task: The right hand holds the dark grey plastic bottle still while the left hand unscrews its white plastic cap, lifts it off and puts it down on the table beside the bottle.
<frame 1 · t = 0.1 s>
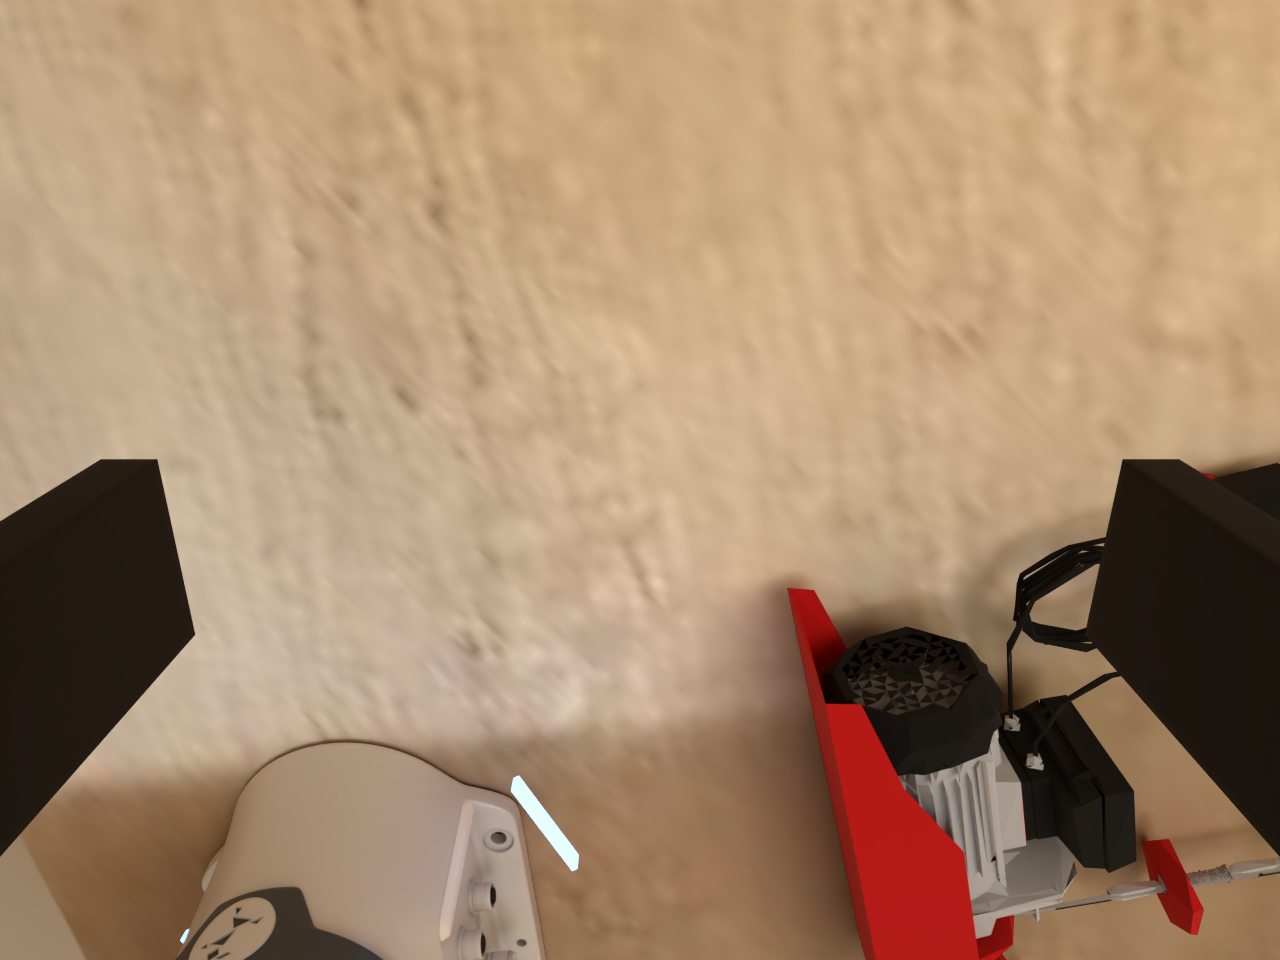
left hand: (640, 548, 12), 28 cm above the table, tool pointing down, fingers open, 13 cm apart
electric hoist: (1102, 717, 47), on the table
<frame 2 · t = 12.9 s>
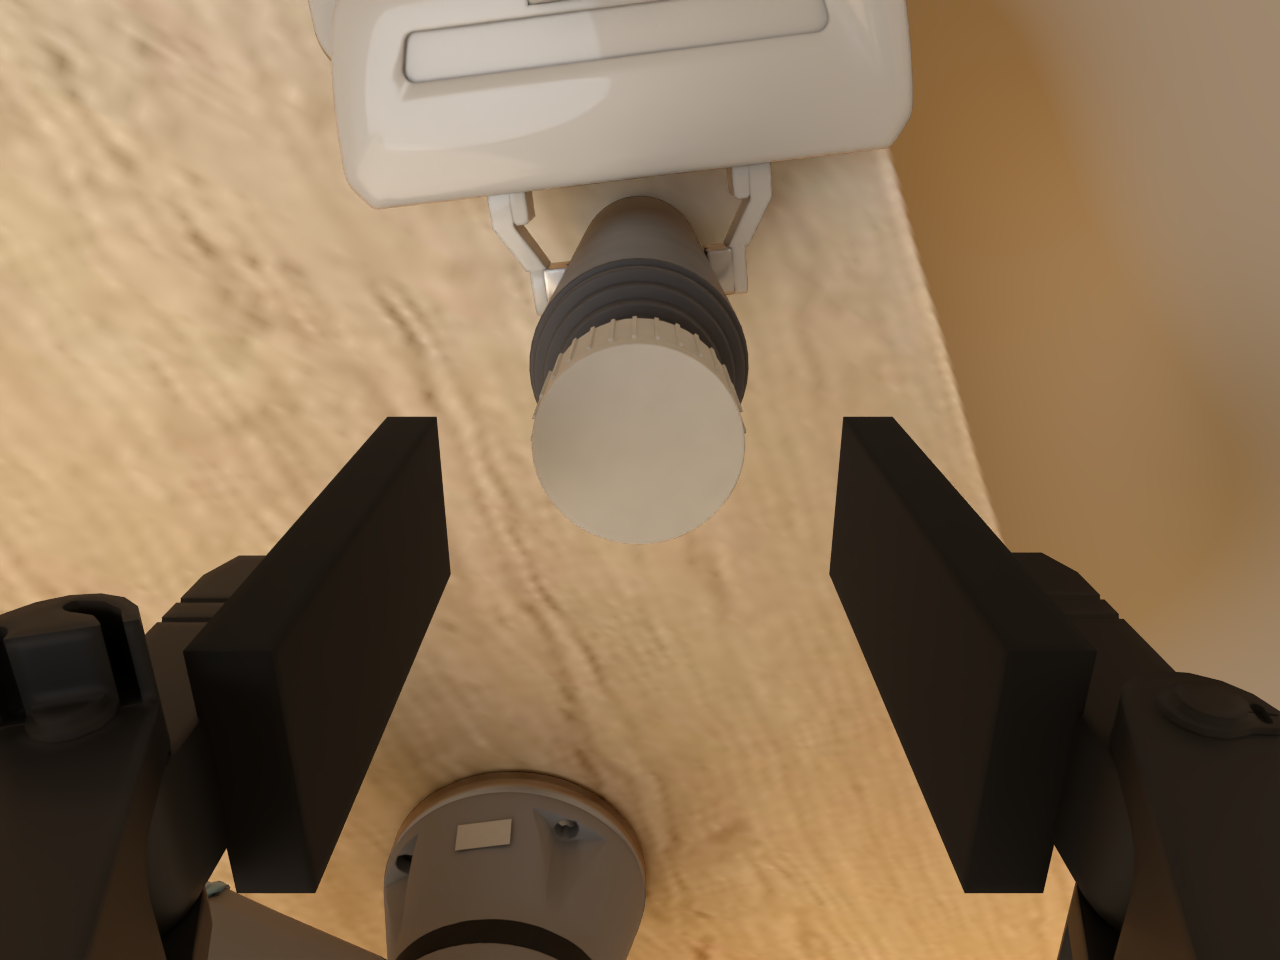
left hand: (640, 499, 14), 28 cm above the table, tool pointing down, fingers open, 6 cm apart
right hand: (643, 302, 35), fingers closed on bottle, 5 cm apart
bottle: (639, 257, 40), on the table, touching right hand
cap: (638, 443, 16), point 25 cm above the table, screwed on, not yet turned
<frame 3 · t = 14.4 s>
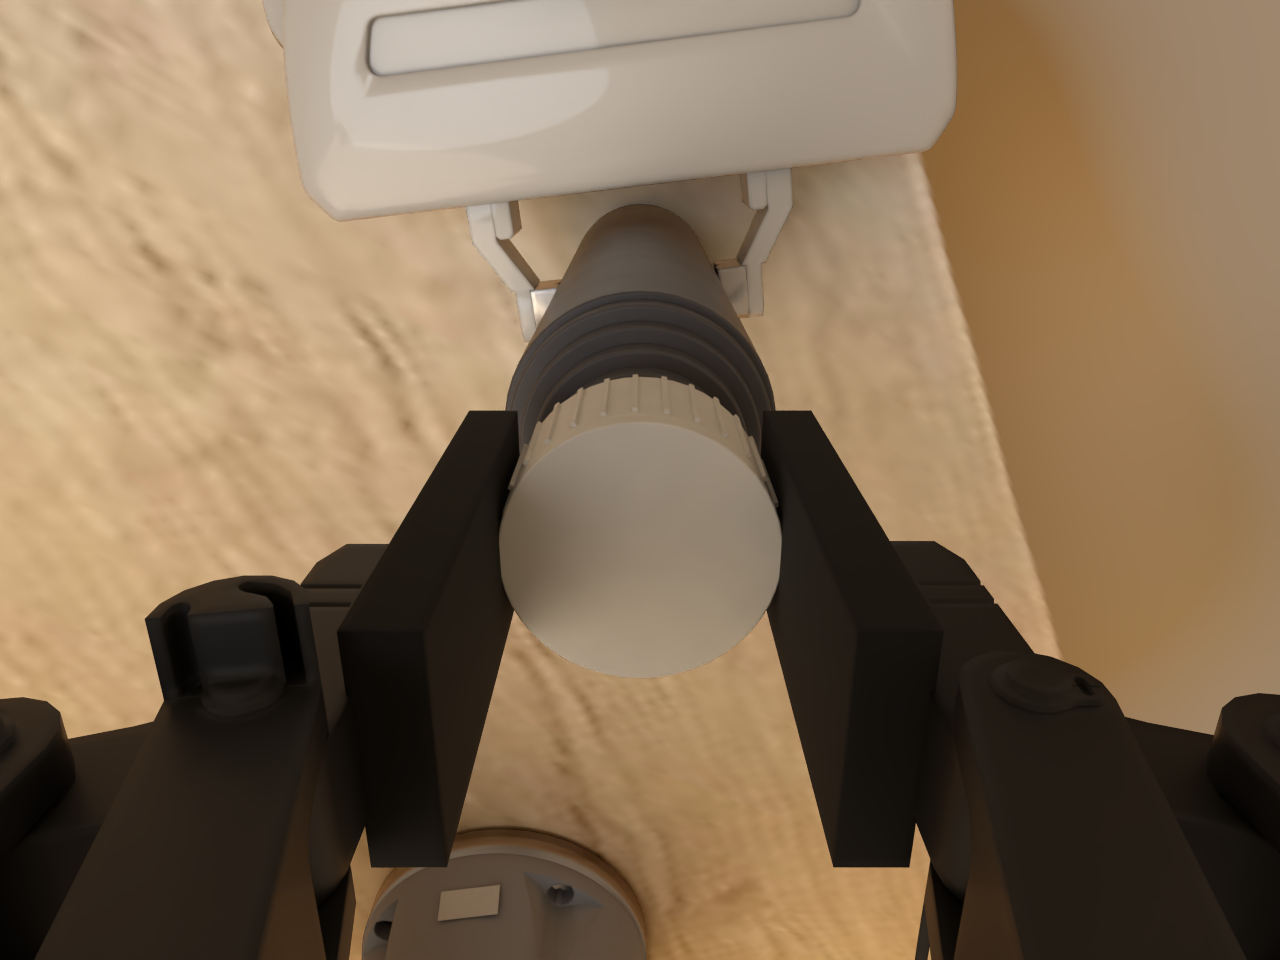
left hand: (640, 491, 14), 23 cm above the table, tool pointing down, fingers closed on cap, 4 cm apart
right hand: (644, 326, 30), fingers closed on bottle, 5 cm apart
bottle: (640, 272, 36), on the table, touching right hand
cap: (640, 548, 12), point 25 cm above the table, screwed on, not yet turned, touching left hand
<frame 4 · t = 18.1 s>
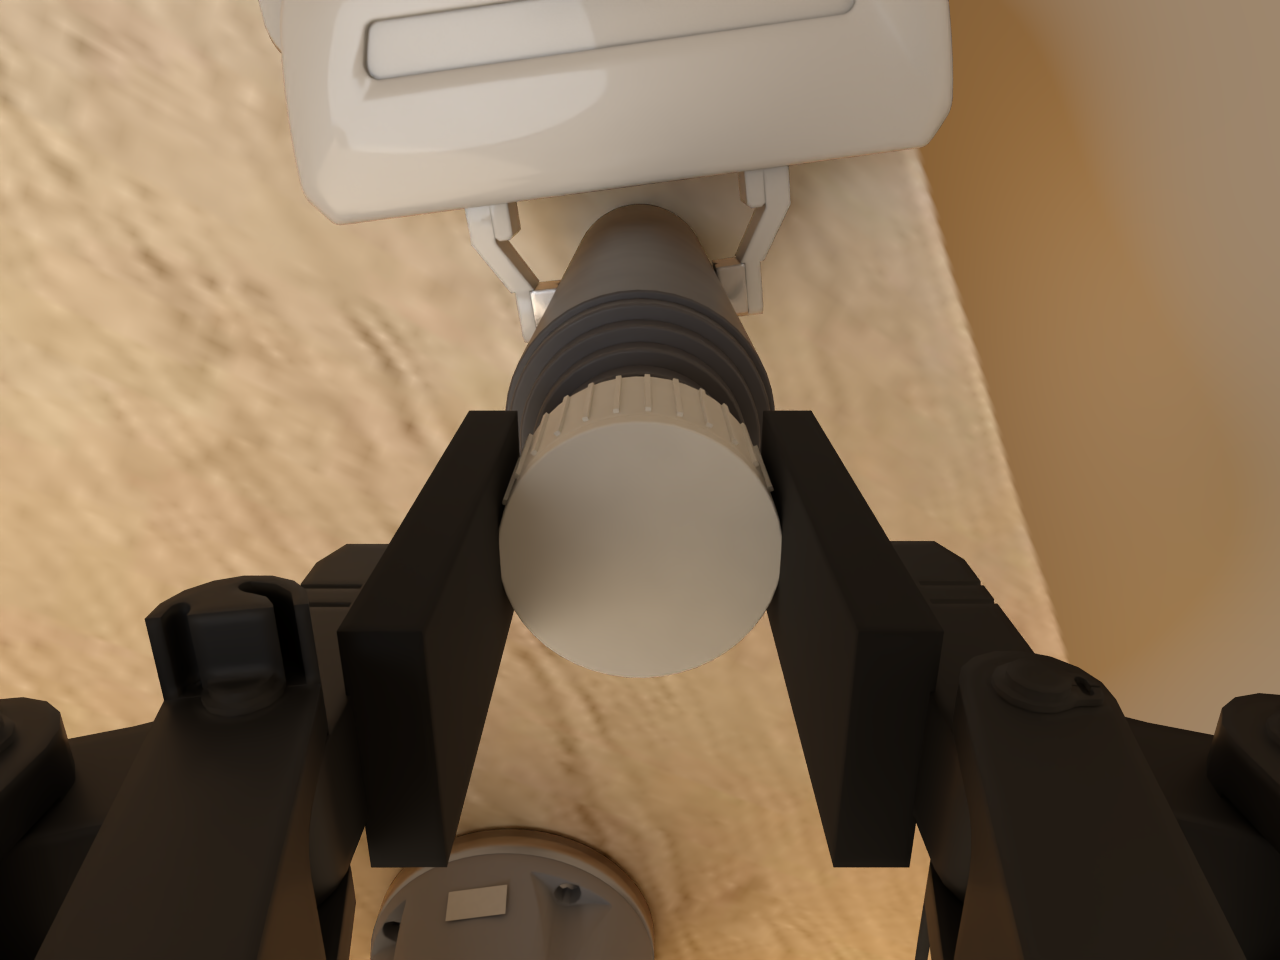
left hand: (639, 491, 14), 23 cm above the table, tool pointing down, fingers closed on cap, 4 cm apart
right hand: (644, 325, 30), fingers closed on bottle, 5 cm apart
bottle: (640, 272, 36), on the table, touching right hand
cap: (640, 548, 12), point 25 cm above the table, turned 106° so far, risen 0.1 cm, still on its thread, touching left hand
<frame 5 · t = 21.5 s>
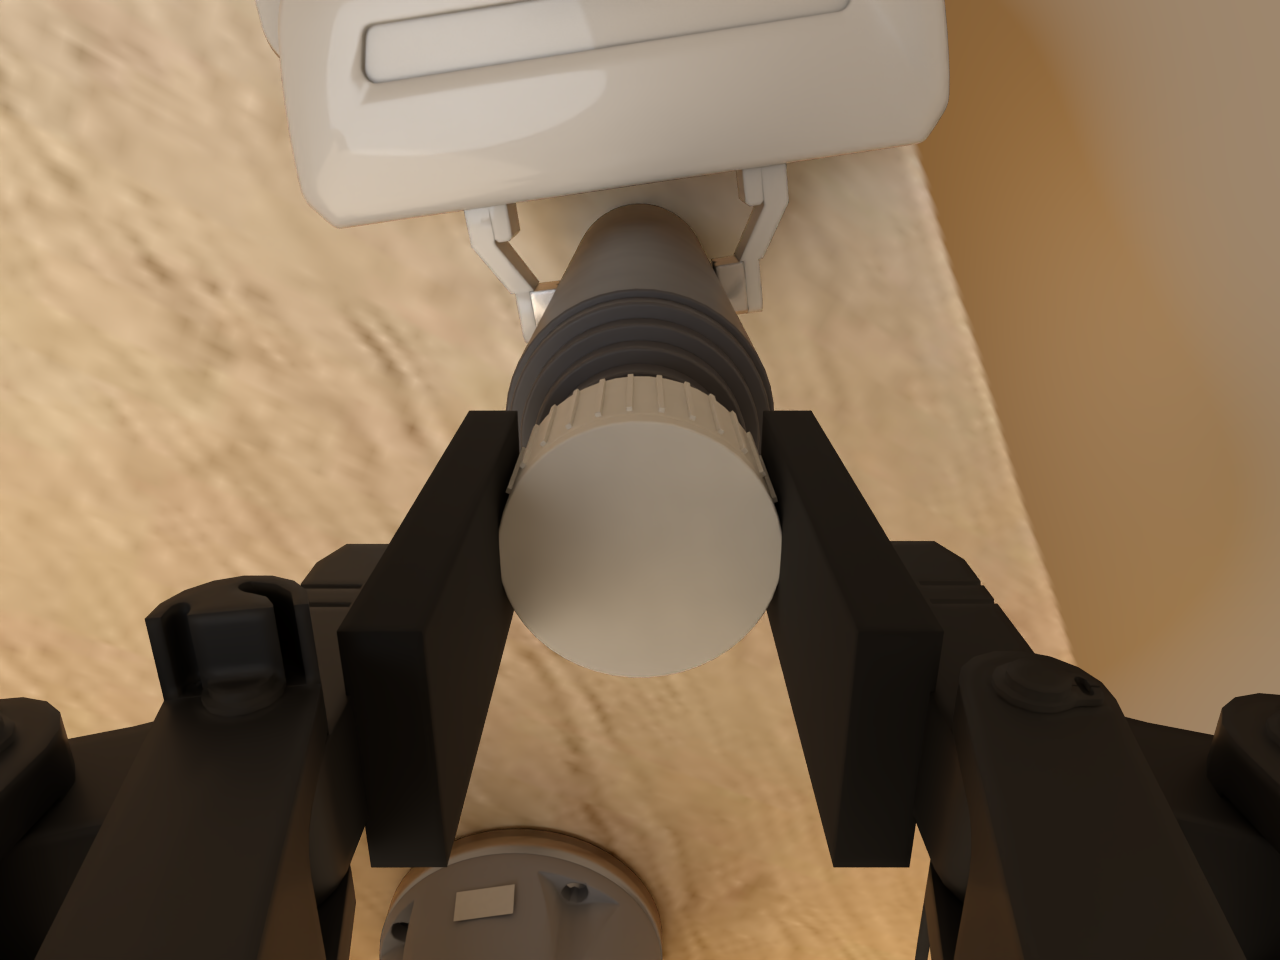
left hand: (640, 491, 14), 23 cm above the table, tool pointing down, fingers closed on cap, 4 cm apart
right hand: (644, 324, 31), fingers closed on bottle, 5 cm apart
bottle: (639, 271, 36), on the table, touching right hand
cap: (640, 547, 12), point 25 cm above the table, turned 212° so far, risen 0.2 cm, still on its thread, touching left hand
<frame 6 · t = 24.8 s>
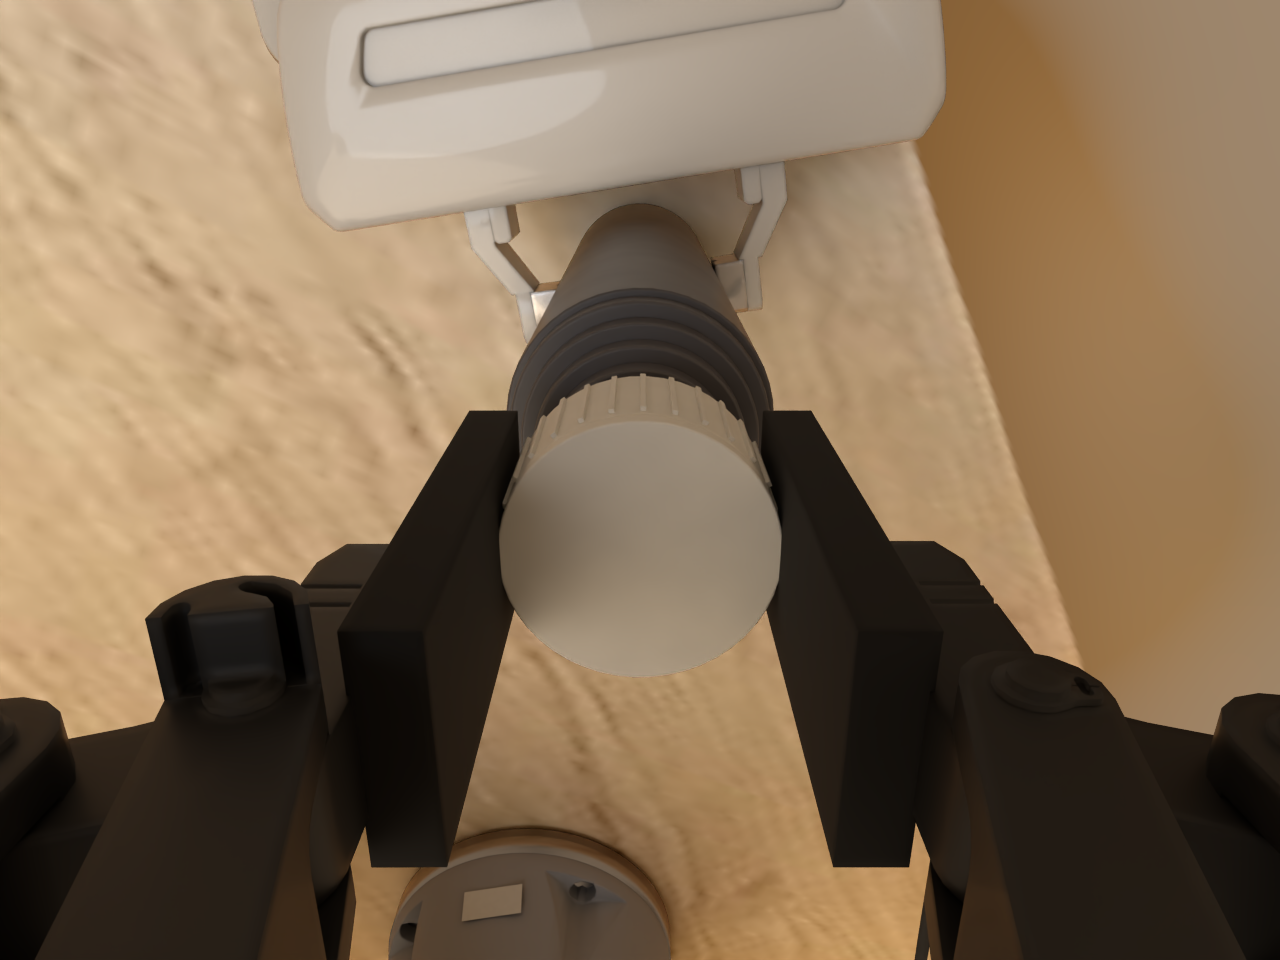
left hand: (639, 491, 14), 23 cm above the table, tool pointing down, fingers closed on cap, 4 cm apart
right hand: (645, 324, 31), fingers closed on bottle, 5 cm apart
bottle: (639, 271, 36), on the table, touching right hand
cap: (640, 547, 12), point 26 cm above the table, turned 317° so far, risen 0.3 cm, still on its thread, touching left hand
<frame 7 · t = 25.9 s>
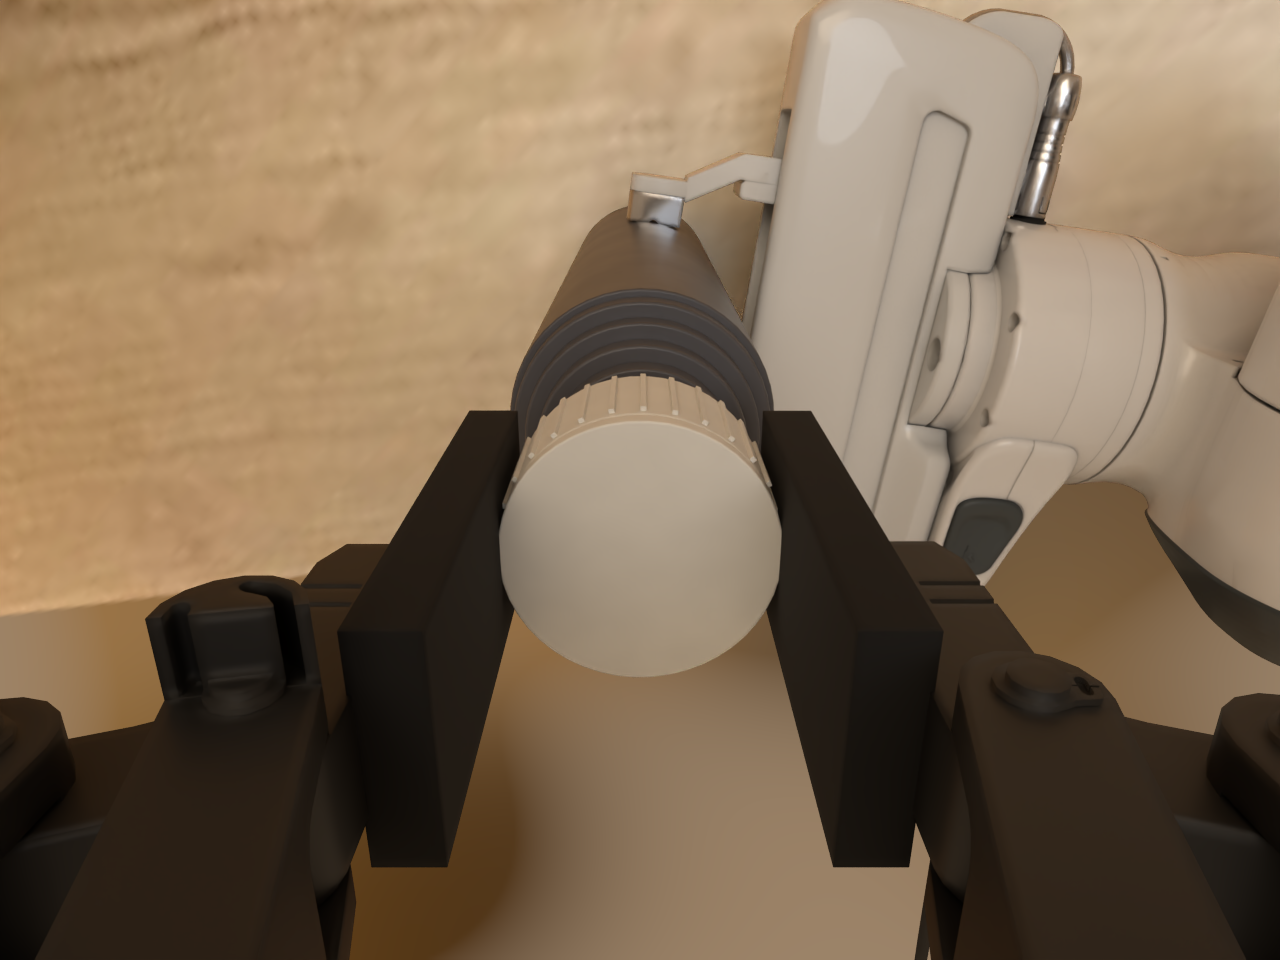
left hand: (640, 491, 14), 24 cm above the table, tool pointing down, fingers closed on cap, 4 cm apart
right hand: (616, 297, 31), fingers closed on bottle, 5 cm apart
bottle: (641, 272, 36), on the table, touching right hand
cap: (640, 547, 12), point 26 cm above the table, off its thread, touching left hand
when the left hand's fingers open (1 cm above the table, at t = 32.5 s): cap drops 1 cm, point 2 cm above the table.
when the right hand's fingers open (6 cm above the table, at t = 33.9 s): bottle stays where it is, on the table.
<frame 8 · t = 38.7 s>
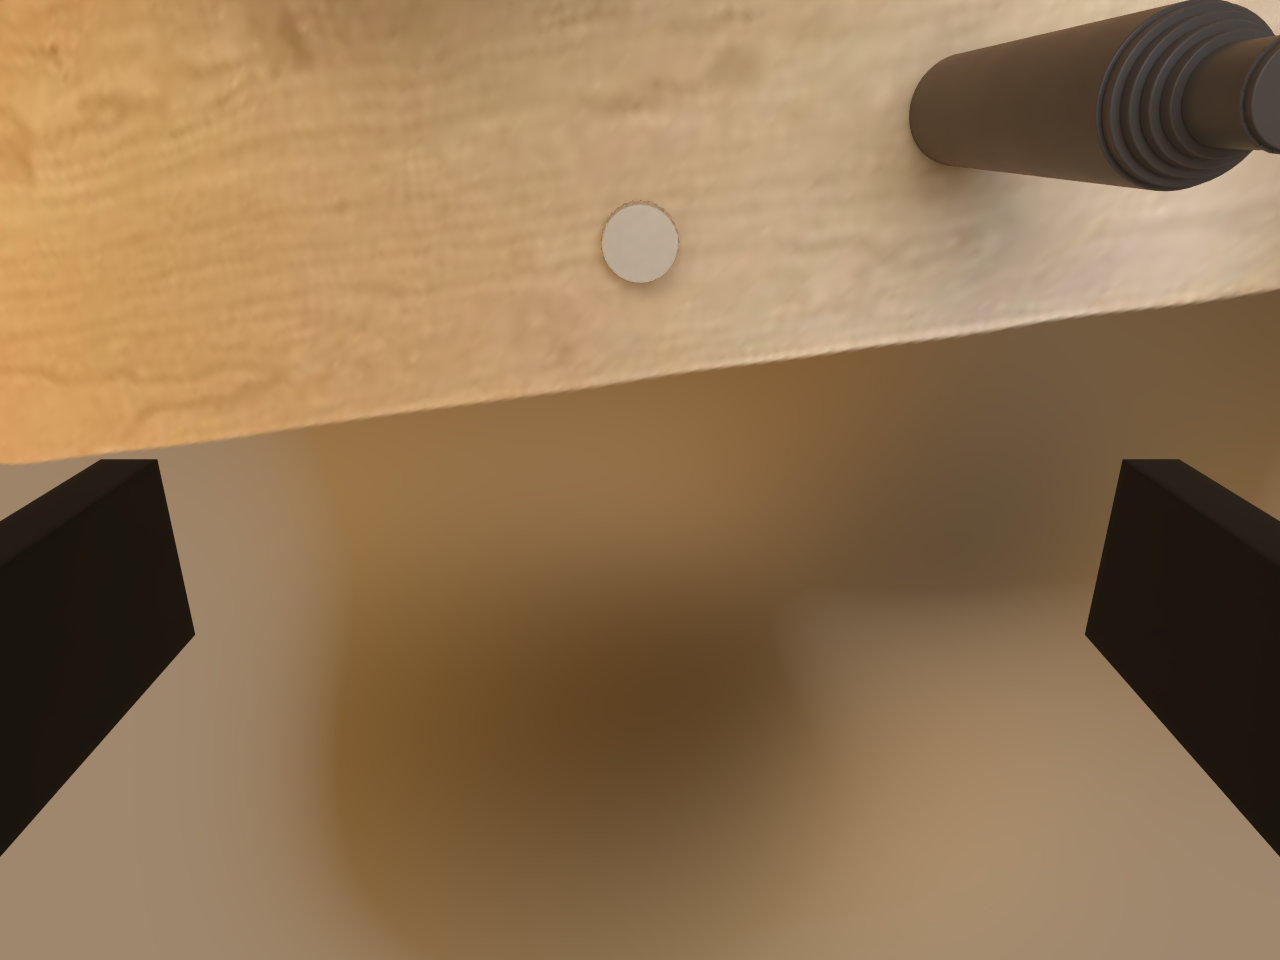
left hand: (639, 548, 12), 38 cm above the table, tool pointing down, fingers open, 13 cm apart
bottle: (961, 110, 45), on the table
cap: (640, 243, 46), point 2 cm above the table, off its thread
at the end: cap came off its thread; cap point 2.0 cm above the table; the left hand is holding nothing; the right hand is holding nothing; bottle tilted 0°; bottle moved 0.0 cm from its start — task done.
